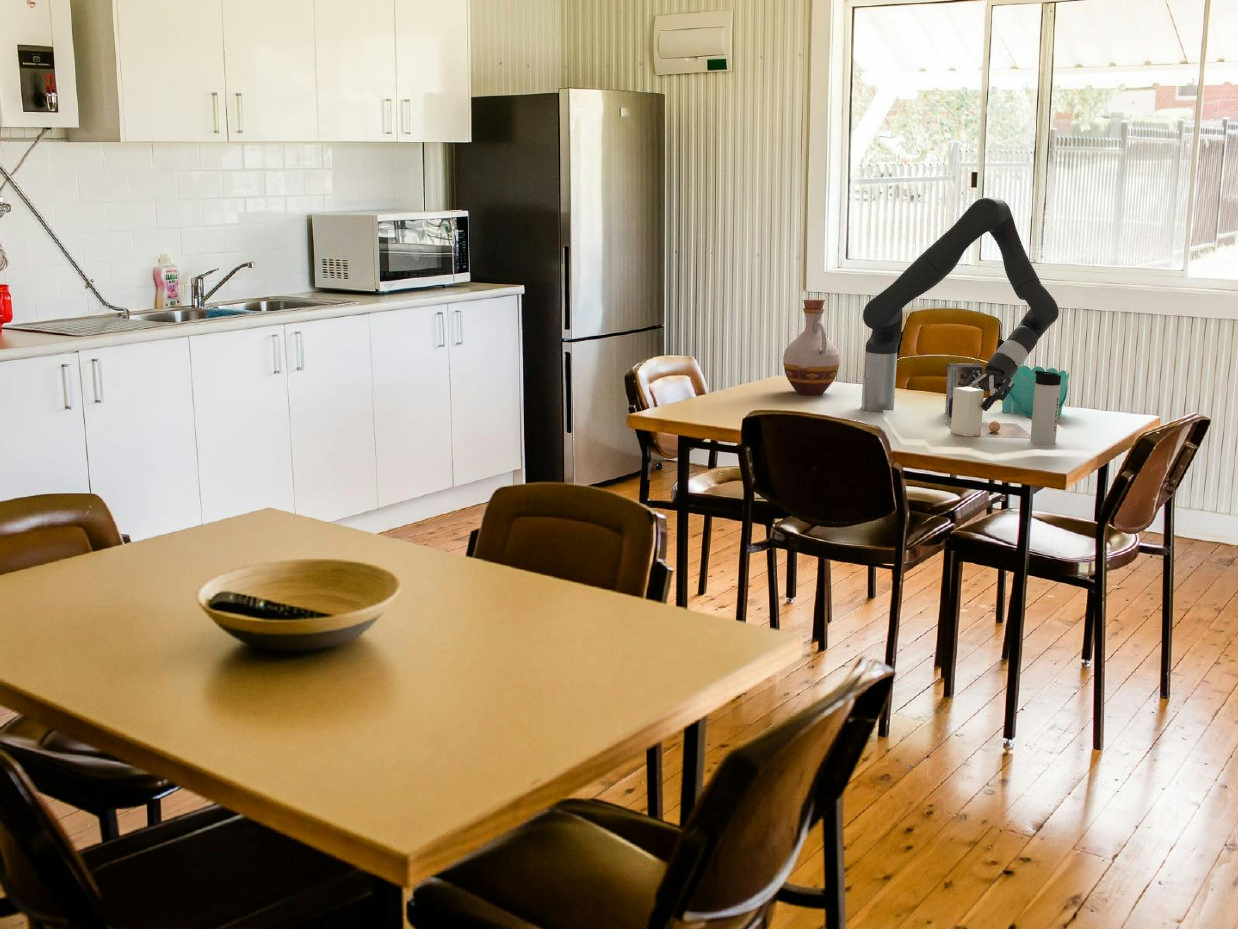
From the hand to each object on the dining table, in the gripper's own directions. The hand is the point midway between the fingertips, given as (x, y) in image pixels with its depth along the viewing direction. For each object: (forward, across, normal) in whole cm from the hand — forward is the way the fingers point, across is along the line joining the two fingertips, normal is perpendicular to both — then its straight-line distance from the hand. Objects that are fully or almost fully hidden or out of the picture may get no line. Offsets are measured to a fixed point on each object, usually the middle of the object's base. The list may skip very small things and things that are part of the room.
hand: (971, 406), depth 344 cm
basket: (-24, -20, +37) cm, 49 cm away
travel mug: (0, +16, +13) cm, 21 cm away
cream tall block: (+6, 0, +4) cm, 7 cm away
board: (+1, -1, +12) cm, 12 cm away
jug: (+4, -75, +9) cm, 76 cm away
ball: (0, +2, +10) cm, 10 cm away
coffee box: (-5, -21, +18) cm, 28 cm away
